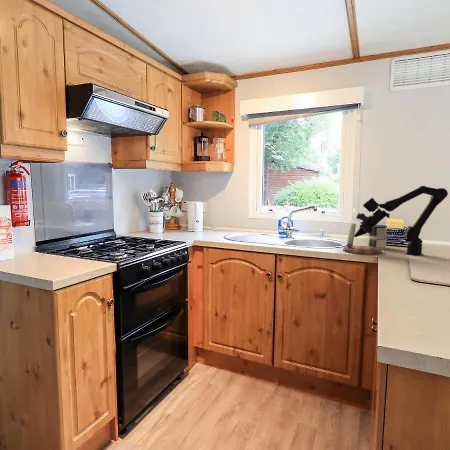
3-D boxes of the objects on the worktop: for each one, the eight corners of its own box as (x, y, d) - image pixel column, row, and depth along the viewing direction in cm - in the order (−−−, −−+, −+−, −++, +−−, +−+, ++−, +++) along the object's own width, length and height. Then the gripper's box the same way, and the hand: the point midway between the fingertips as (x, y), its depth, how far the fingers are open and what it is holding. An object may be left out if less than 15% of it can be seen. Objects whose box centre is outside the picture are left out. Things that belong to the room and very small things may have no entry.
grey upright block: (367, 248, 208) (367, 225, 207) (369, 246, 217) (369, 224, 216) (385, 249, 203) (386, 226, 202) (386, 247, 212) (387, 225, 211)
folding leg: (352, 245, 199) (356, 223, 197) (352, 246, 196) (356, 224, 194) (346, 244, 200) (350, 223, 199) (346, 245, 197) (350, 223, 195)
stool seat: (380, 250, 202) (380, 242, 202) (383, 255, 182) (383, 247, 182) (343, 248, 209) (343, 241, 209) (342, 253, 190) (342, 245, 190)
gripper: (364, 207, 202) (344, 225, 207) (365, 208, 185) (344, 228, 190) (378, 220, 200) (358, 238, 205) (381, 223, 183) (358, 242, 188)
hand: (354, 236), depth 197 cm, fingers closed, pressing on folding leg
